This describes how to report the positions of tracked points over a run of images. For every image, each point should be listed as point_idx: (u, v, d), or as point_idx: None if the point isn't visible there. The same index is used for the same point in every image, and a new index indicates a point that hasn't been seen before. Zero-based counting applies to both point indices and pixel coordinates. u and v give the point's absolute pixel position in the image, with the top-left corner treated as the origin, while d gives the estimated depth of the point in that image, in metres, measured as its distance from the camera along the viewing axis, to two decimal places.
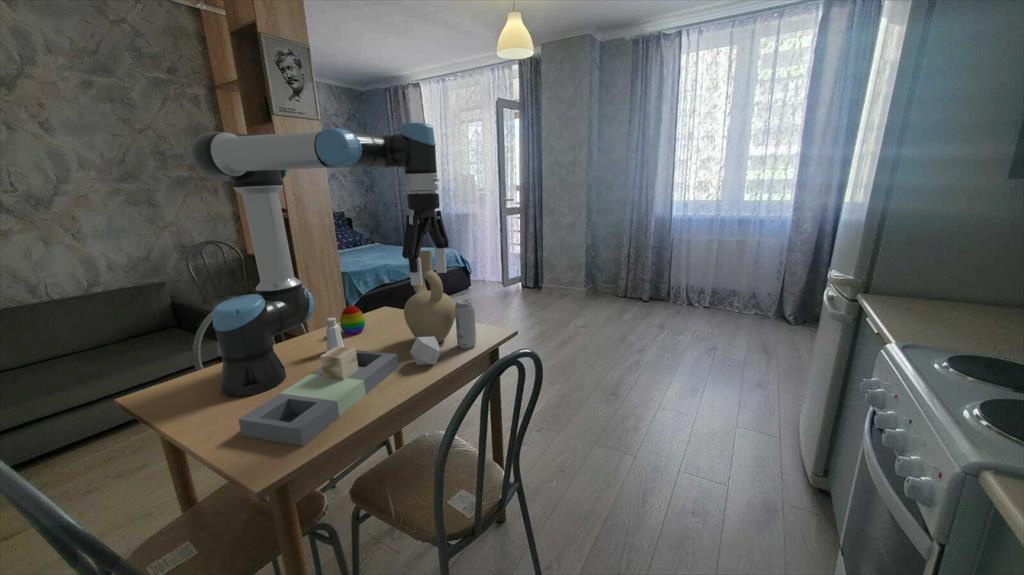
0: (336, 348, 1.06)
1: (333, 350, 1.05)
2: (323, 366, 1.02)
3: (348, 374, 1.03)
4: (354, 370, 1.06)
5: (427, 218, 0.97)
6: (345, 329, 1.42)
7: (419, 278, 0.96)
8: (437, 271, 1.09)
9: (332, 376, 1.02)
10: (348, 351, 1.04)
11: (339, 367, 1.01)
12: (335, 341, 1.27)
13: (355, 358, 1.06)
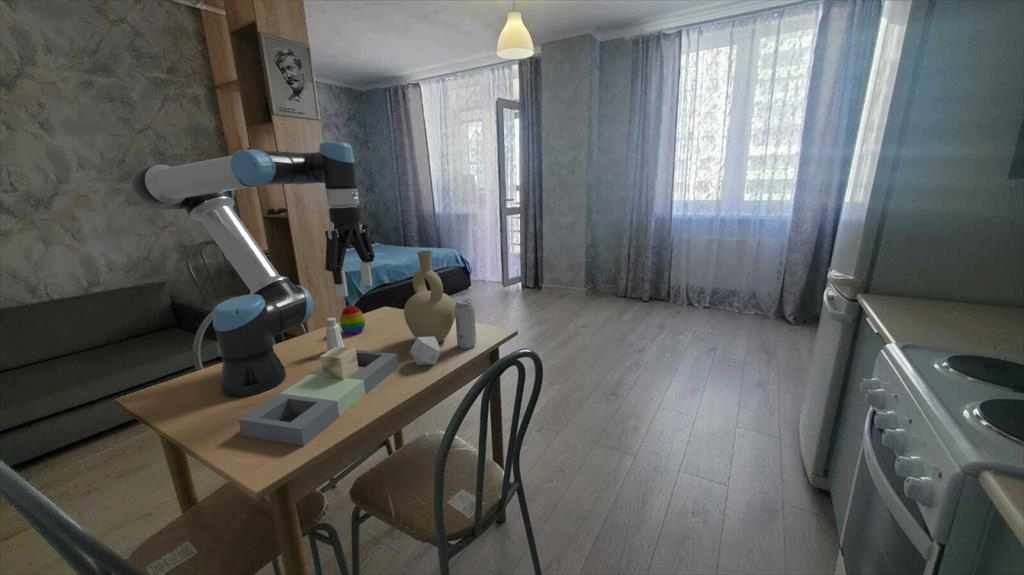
0: (336, 348, 1.06)
1: (333, 350, 1.05)
2: (323, 366, 1.02)
3: (348, 374, 1.03)
4: (354, 370, 1.06)
5: (347, 231, 1.03)
6: (345, 329, 1.42)
7: (344, 289, 1.04)
8: (363, 284, 1.14)
9: (332, 376, 1.02)
10: (348, 351, 1.04)
11: (339, 367, 1.01)
12: (335, 341, 1.27)
13: (355, 358, 1.06)
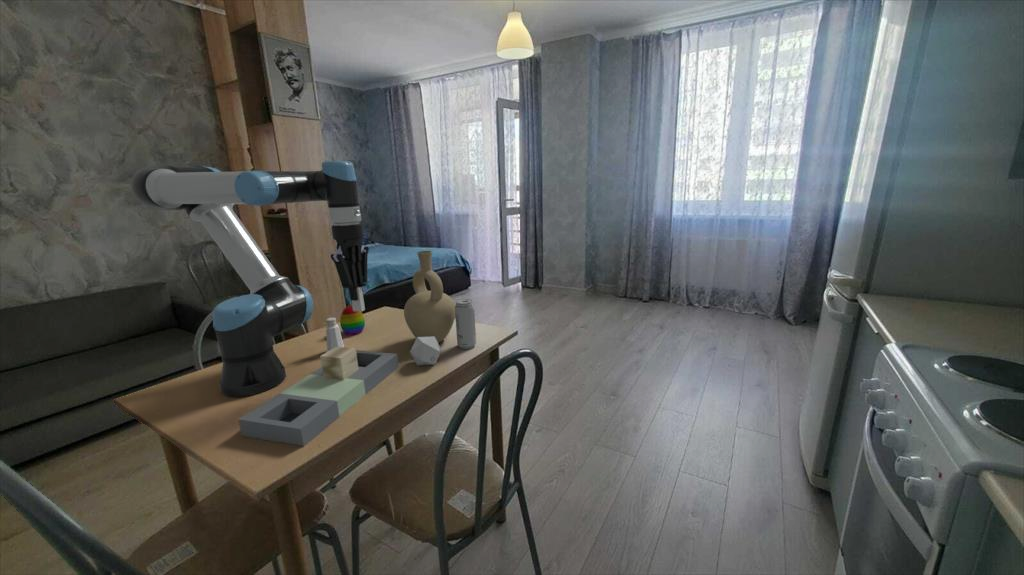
0: (336, 348, 1.06)
1: (333, 350, 1.05)
2: (323, 366, 1.02)
3: (348, 374, 1.03)
4: (354, 370, 1.06)
5: (350, 249, 1.04)
6: (345, 329, 1.42)
7: (359, 305, 1.10)
8: None
9: (332, 376, 1.02)
10: (348, 351, 1.04)
11: (339, 367, 1.01)
12: (335, 341, 1.27)
13: (355, 358, 1.06)
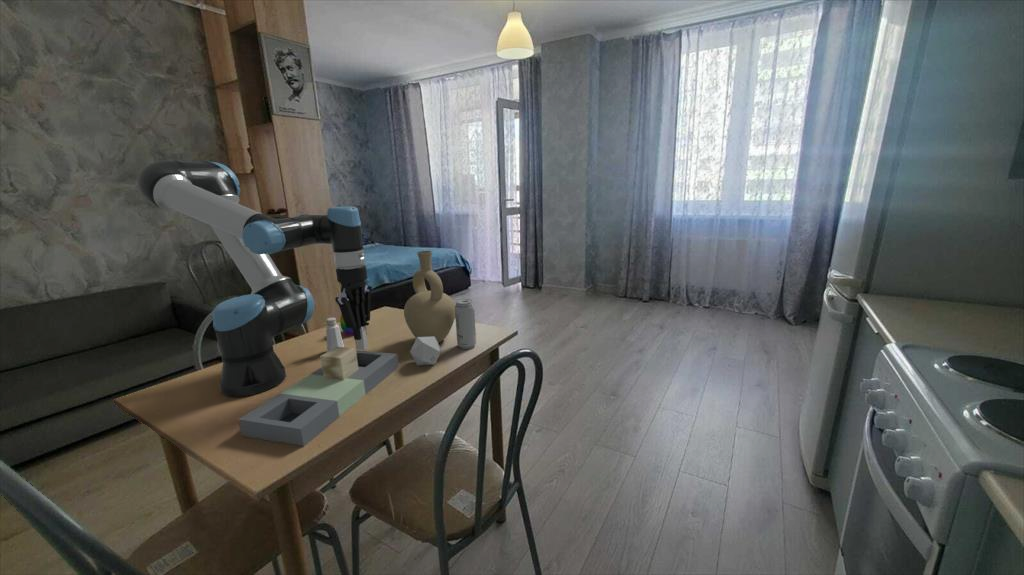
0: (336, 348, 1.06)
1: (333, 350, 1.05)
2: (323, 366, 1.02)
3: (348, 374, 1.03)
4: (354, 370, 1.06)
5: (354, 291, 1.07)
6: (345, 329, 1.42)
7: (362, 344, 1.12)
8: None
9: (332, 376, 1.02)
10: (348, 351, 1.04)
11: (339, 367, 1.01)
12: (335, 341, 1.27)
13: (355, 358, 1.06)
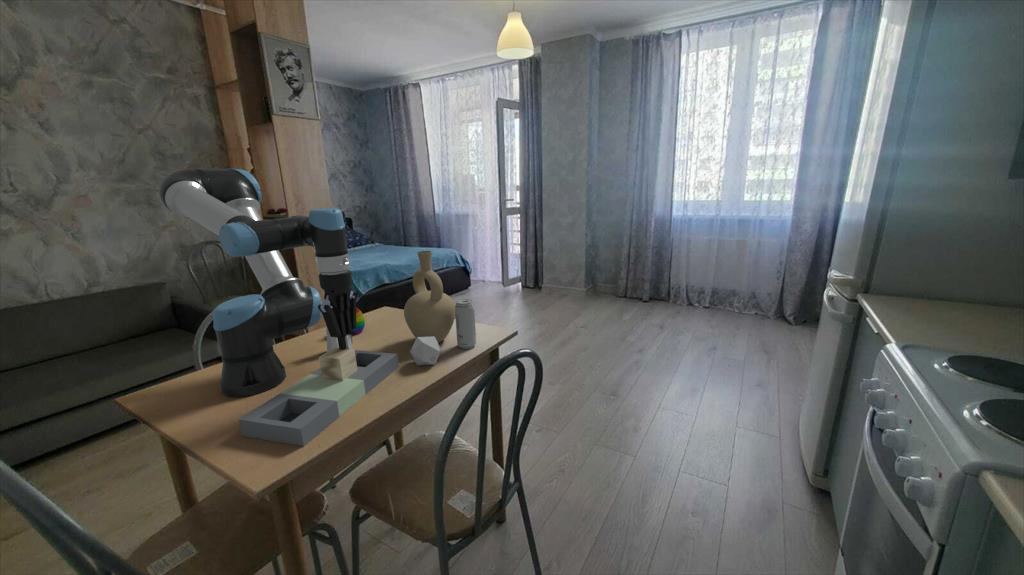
0: (334, 348, 1.06)
1: (332, 351, 1.04)
2: (322, 367, 1.02)
3: (347, 375, 1.03)
4: (353, 371, 1.05)
5: (338, 298, 1.01)
6: None
7: None
8: None
9: (331, 377, 1.02)
10: (347, 352, 1.04)
11: (338, 368, 1.01)
12: (335, 341, 1.27)
13: (354, 359, 1.05)
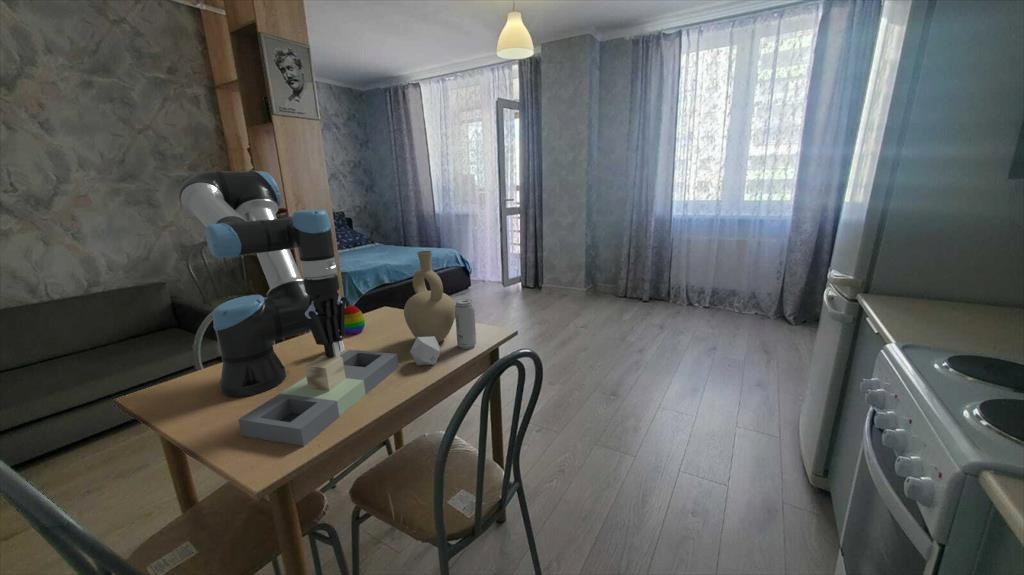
0: (322, 356, 1.01)
1: (319, 359, 1.00)
2: (308, 377, 0.97)
3: (334, 385, 0.98)
4: (341, 380, 1.00)
5: (324, 304, 0.96)
6: (345, 329, 1.42)
7: None
8: None
9: (317, 387, 0.97)
10: (334, 360, 0.99)
11: (324, 377, 0.96)
12: None
13: (342, 367, 1.01)
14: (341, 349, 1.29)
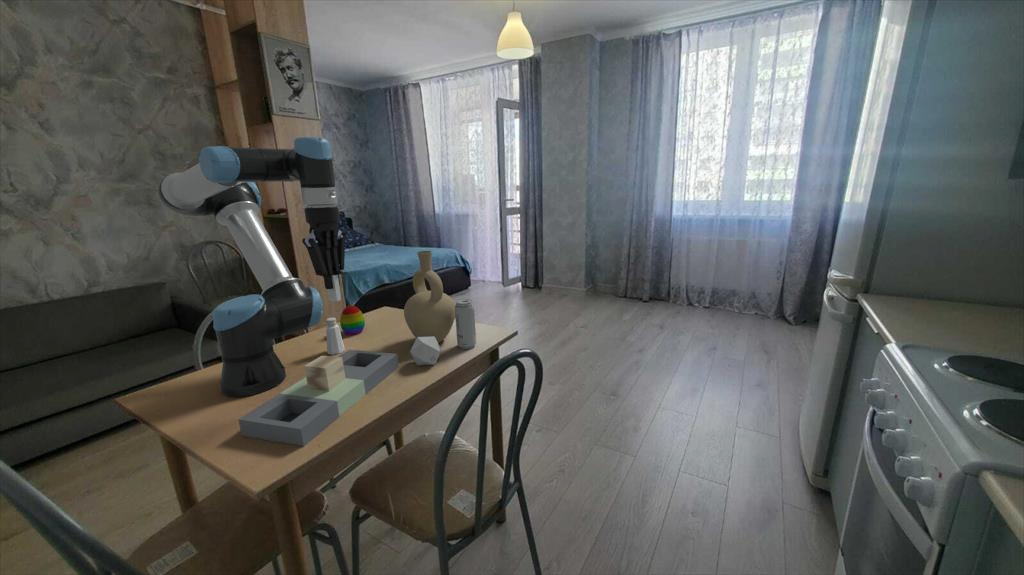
0: (321, 357, 1.01)
1: (318, 359, 1.00)
2: (308, 377, 0.97)
3: (334, 385, 0.98)
4: (341, 380, 1.00)
5: (324, 233, 0.97)
6: (345, 329, 1.42)
7: (335, 294, 1.02)
8: None
9: (317, 387, 0.97)
10: (334, 360, 0.99)
11: (324, 377, 0.96)
12: (335, 341, 1.27)
13: (342, 368, 1.01)
14: (341, 349, 1.29)
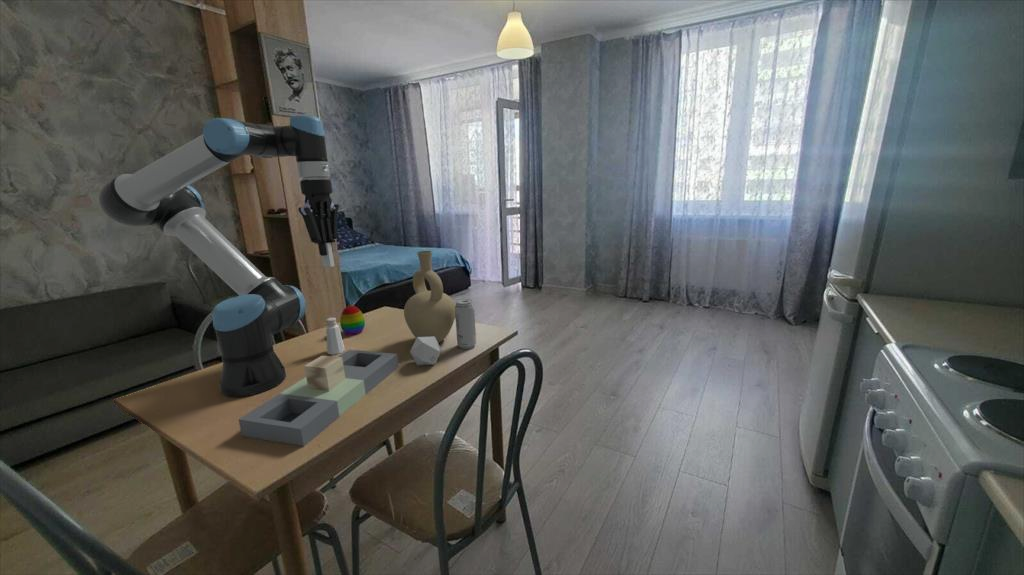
0: (321, 357, 1.01)
1: (318, 359, 1.00)
2: (308, 377, 0.97)
3: (334, 385, 0.98)
4: (341, 380, 1.00)
5: (318, 204, 1.07)
6: (345, 329, 1.42)
7: (328, 260, 1.12)
8: None
9: (317, 387, 0.97)
10: (334, 360, 0.99)
11: (324, 377, 0.96)
12: (335, 341, 1.27)
13: (342, 368, 1.01)
14: (341, 349, 1.29)
